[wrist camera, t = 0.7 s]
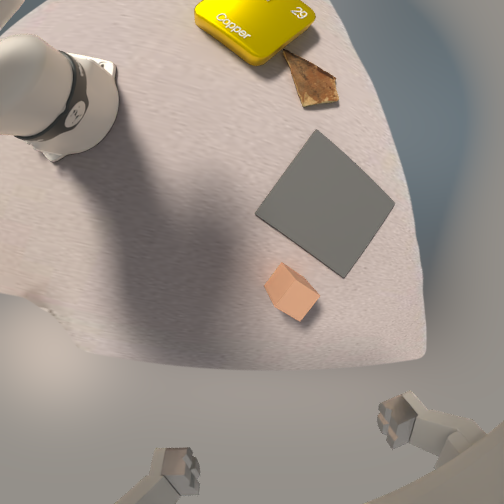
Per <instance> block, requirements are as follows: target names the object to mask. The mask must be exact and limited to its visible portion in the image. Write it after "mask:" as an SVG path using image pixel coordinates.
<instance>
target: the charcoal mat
mask: <svg viewBox="0 0 504 504" xmlns="http://www.w3.org/2000/svg"><path fill="white" fill-rule="evenodd" d="M394 204H395V202H394V201H393V200H392V199H391V198H390V197H389V196H388V195H387V194H386V193H385V192H384V191H383V190H382V189H381V188H380V187H379V186H378V185H377V184H376V183H375V182H374V181H373V180H372V179H371V178H370V177H369V176H368V175H367V174H366V173H365V172H364V171H363V170H362V169H361V168H360V167H359V166H358V165H357V164H356V163H355V162H353V161H352V160H351V159H350V158H349V157H348V156H347V155H346V154H345V153H344V152H343V151H341V150H340V149H339V148H338V147H337V146H336V145H335V144H334V143H332V142H331V141H330V140H329V139H328V138H327V137H325V136H324V135H323V134H322V133H321V132H319V131H318V130H317V129H316V130H315V131H314V132H313V134H312V135H311V137H310V138H309V139H308V141H307V142H306V143H305V145H304V146H303V147H302V149H301V150H300V151H299V153H298V154H297V156H296V157H295V158H294V160H293V161H292V162H291V164H290V165H289V167H288V168H287V169H286V171H285V172H284V173H283V175H282V176H281V178H280V179H279V180H278V182H277V183H276V184H275V186H274V187H273V189H272V190H271V191H270V193H269V194H268V196H267V197H266V198H265V200H264V201H263V203H262V204H261V205H260V207H259V208H258V210H257V211H256V212H255V214H256V215H257V216H259V217H260V218H262V219H263V220H264V221H266V222H267V223H269V224H270V225H271V226H273V227H274V228H276V229H277V230H279V231H280V232H281V233H283V234H284V235H286V236H287V237H288V238H290V239H291V240H293V241H294V242H295V243H297V244H298V245H299V246H301V247H302V248H304V249H305V250H306V251H308V252H309V253H311V254H312V255H313V256H315V257H316V258H317V259H319V260H320V261H321V262H323V263H324V264H326V265H327V266H328V267H330V268H331V269H332V270H334V271H335V272H336V273H338V274H339V275H340V276H342V277H343V278H344V277H345V276H346V275H347V273H348V272H349V270H350V269H351V268H352V266H353V265H354V264H355V262H356V261H357V259H358V258H359V257H360V255H361V254H362V252H363V251H364V249H365V248H366V247H367V245H368V244H369V242H370V241H371V239H372V238H373V236H374V235H375V233H376V232H377V230H378V229H379V227H380V226H381V224H382V223H383V221H384V220H385V218H386V217H387V215H388V214H389V212H390V211H391V209H392V207H393V206H394Z"/></svg>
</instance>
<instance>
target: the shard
mask: <svg viewBox="0 0 504 504" xmlns="http://www.w3.org/2000/svg"><path fill="white" fill-rule="evenodd" d="M283 55H284V57H285V59H286V61H287V63H288V65H289V67H290V69H291V74H292V77H293V79H294V83H295V85H296V88H297V93H298V95H299V97H300V100H301V103H302V106H303V107H306V106H310V105H315V104H320V103H332V102H335V101H338V100H339V97H338V94H337V90H336V85H335V80H336V78H335V77H333V76H332V75H330V74H329V73H328V72H326V71H323V70H322V69H321V68H319V67H318V66H316V65H314V64H313V63H311V62H309V61H307V60H305V59H303V58H301V57H299V56H296V55H294V54H293V53H291V52H289V51H288V50H285V49H283Z"/></svg>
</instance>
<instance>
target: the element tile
mask: <svg viewBox="0 0 504 504" xmlns="http://www.w3.org/2000/svg"><path fill="white" fill-rule="evenodd" d="M194 15H195V23H196V25H197V26H198V27H199V28H201V29H202V30H204V31H205V32H207V33H208V34H210V35H211V36H212V37H214V38H215V39H217V40H218V41H219V42H221V43H222V44H223V45H225V46H226V47H227V48H229V49H230V50H231V51H233V52H234V53H235V54H237V55H238V56H239V57H240V58H242V59H243V60H244V61H245V62H247V63H248V64H250V65H253V66H260V65H263V64H264V63H266V62H267V61H268V60H269V59H271V58H272V57H273V56H274V55H275V54H277V53H278V52H279V51H280V50H282V49H283V48H284V47H285V46H286V45H288V44H289V43H290V42H291V41H293V40H294V39H295V38H297V37H298V36H299V35H301V34H302V33H303V32H304V31H306V30H307V29H308V28H309V26H310V25H311V24H312V23H313V22H314V20H315V18H316V16H315V13H314V11H313V10H312V9H311V8H310V7H308V6H307V5H306V4H305V3H303V2H302V1H301V0H202V1H201V2H200V3H198V4H197V5H196V7H195V9H194Z"/></svg>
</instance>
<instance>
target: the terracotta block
mask: <svg viewBox="0 0 504 504" xmlns="http://www.w3.org/2000/svg"><path fill="white" fill-rule="evenodd" d="M264 287H265V289H266V291H267V293H268V295H269V297H270V299H271V301H272V303H273V305H274V307H276V308H277V309H279V310H281V311H282V312H284V313H286V314H288V315H289V316H291V317H293V318H295V319H296V320H298V321H301V320H302V319H303V317H304V316H305V315H306V314H307V312H308V311H309V310H310V309H311V307H312V306H313V305H314V304H315V302H316V301H317V300H318V298H319V297H320V295H319V294H318V293H317V291H316V290H315V289H314V288H313V287H312V286H311V285H310V284H309V282H308V281H307V280H306V279H305V278H304V277H303V276H301V275H300V274H298V273H297V272H295V271H294V270H293V269H291V268H290V267H288V266H287V265H285V264H284V263H282V262H281V264H280V265H279V266H278V268H277V269H276V270H275V272H274V273H273V274H272V276H271V277H270V279H269V280H268V281H267V283H266V284H265V285H264Z"/></svg>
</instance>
